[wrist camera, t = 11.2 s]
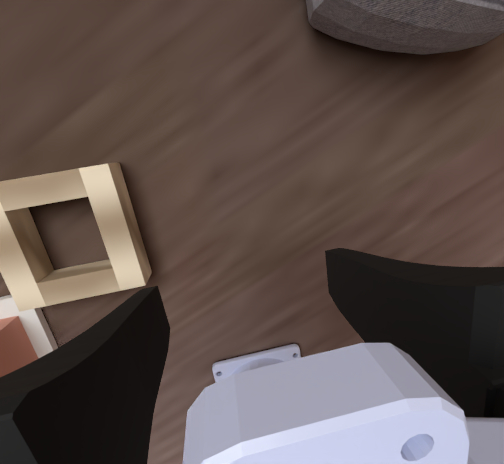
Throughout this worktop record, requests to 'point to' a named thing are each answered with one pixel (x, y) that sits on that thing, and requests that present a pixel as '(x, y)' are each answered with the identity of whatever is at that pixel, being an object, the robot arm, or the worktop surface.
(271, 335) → the worktop surface
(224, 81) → the worktop surface
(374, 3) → the grey rounded bag
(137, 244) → the pocket holder
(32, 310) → the mat
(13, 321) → the peg
